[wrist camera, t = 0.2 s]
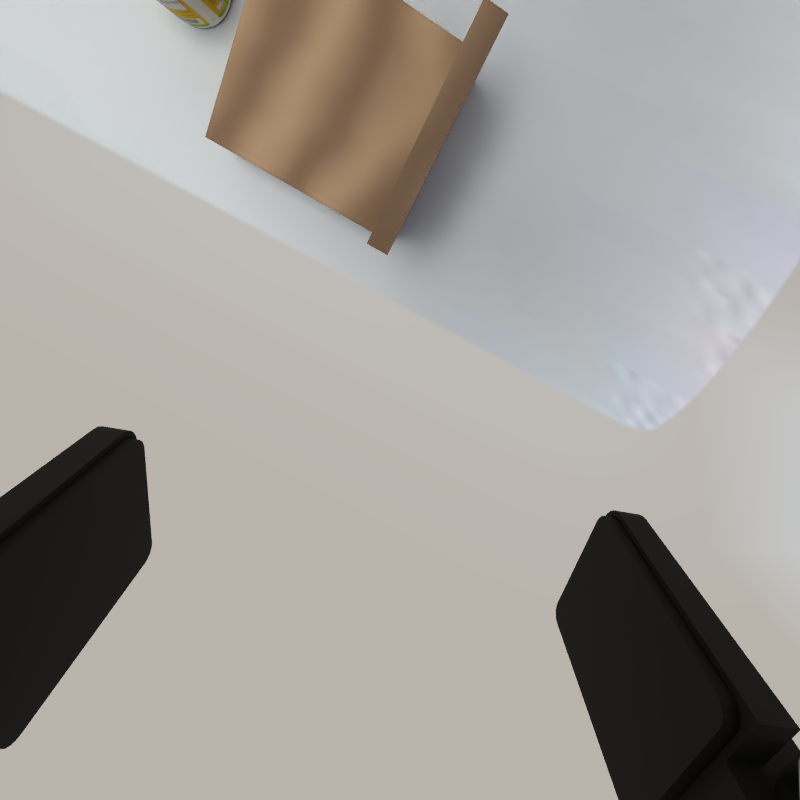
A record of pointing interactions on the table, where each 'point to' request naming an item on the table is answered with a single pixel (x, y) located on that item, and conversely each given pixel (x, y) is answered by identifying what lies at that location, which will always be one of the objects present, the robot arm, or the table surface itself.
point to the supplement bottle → (198, 11)
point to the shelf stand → (348, 99)
